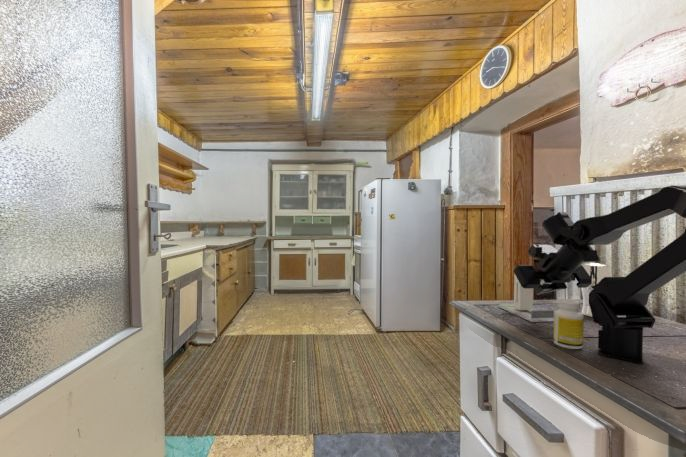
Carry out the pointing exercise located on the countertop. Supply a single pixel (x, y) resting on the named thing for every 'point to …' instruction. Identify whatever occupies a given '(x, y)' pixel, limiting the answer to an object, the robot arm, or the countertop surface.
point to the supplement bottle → (568, 325)
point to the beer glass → (593, 282)
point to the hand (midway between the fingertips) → (536, 293)
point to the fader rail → (530, 313)
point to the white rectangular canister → (522, 296)
